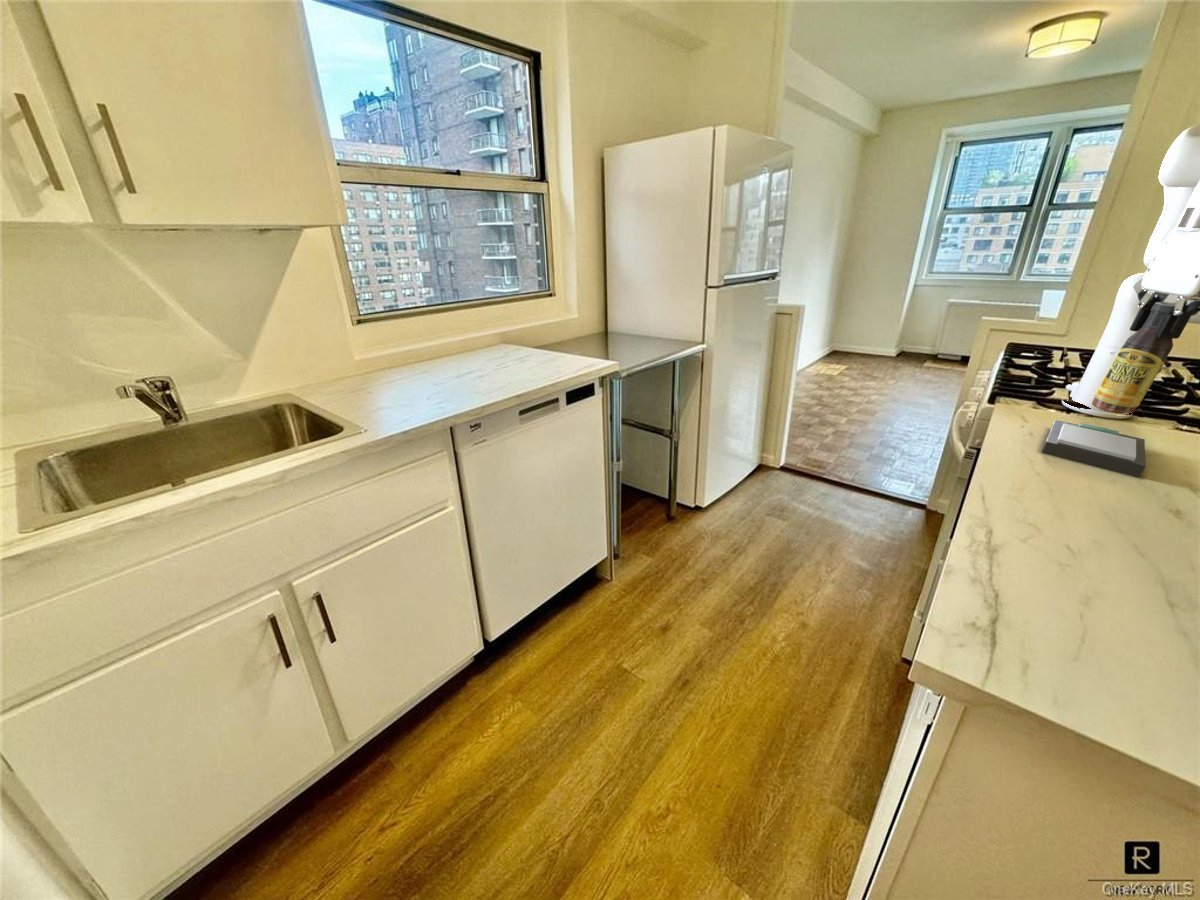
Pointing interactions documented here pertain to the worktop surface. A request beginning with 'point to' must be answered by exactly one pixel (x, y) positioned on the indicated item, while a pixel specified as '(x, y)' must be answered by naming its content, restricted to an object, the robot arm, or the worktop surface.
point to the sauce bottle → (1135, 365)
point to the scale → (1096, 447)
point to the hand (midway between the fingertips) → (1153, 333)
